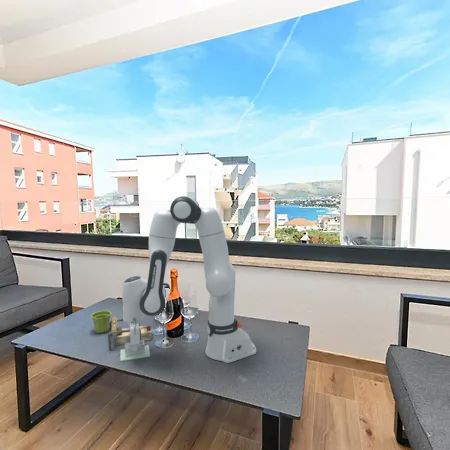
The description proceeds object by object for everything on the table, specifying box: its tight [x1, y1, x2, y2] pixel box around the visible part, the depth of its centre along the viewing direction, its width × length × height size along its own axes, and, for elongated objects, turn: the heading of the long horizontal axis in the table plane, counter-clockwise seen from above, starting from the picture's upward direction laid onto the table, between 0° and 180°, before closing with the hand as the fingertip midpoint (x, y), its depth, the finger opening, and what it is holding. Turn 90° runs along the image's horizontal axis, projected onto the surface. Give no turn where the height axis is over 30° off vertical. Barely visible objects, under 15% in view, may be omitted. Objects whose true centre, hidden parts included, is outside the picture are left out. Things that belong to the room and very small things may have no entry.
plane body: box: [107, 318, 153, 351], centre depth 138 cm, size 19×14×8 cm
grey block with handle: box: [124, 340, 146, 357], centre depth 126 cm, size 8×4×5 cm, turn 109°
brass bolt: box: [112, 315, 118, 333], centre depth 135 cm, size 2×15×2 cm, turn 19°
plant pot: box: [90, 310, 112, 334], centre depth 147 cm, size 9×9×9 cm
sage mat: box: [119, 344, 151, 362], centre depth 126 cm, size 12×9×1 cm
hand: (134, 345), depth 126 cm, fingers open, 7 cm apart
